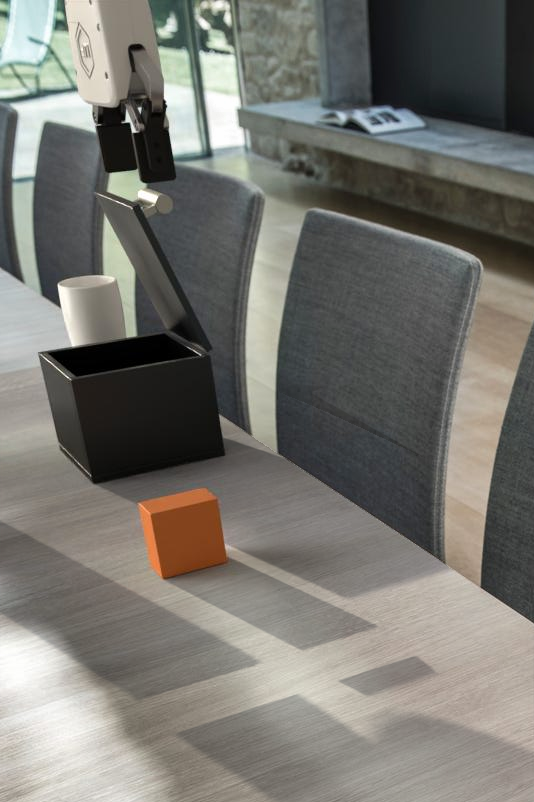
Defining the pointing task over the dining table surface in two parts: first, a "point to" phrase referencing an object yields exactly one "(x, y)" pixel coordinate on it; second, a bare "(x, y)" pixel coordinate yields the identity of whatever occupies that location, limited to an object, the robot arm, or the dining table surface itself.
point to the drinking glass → (92, 309)
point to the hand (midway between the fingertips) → (139, 176)
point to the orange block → (183, 532)
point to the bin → (133, 404)
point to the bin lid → (153, 260)
